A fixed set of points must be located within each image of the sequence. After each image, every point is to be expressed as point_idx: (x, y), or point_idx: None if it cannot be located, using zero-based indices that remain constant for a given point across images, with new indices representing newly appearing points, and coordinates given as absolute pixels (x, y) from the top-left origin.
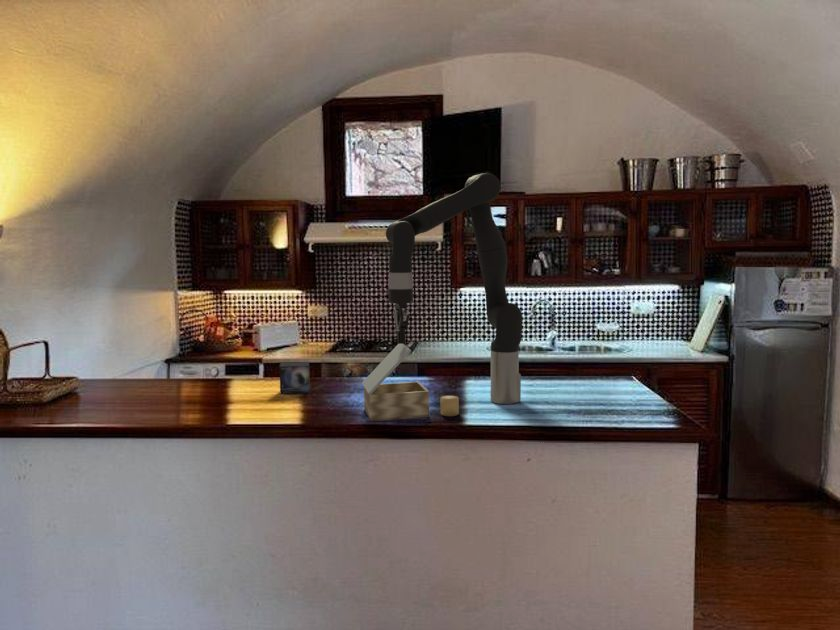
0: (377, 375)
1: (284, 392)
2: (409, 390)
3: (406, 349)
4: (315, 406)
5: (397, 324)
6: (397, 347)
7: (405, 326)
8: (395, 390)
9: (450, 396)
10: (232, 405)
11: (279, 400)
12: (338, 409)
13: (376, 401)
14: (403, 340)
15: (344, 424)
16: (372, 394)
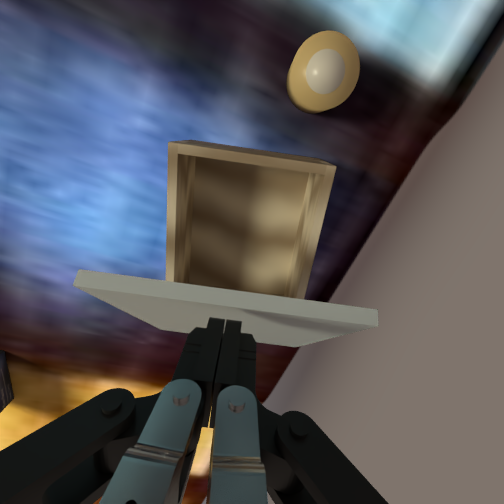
0: None
1: (10, 396)
2: (184, 179)
3: (325, 322)
4: (128, 361)
5: (180, 498)
6: (137, 301)
7: (308, 461)
8: (182, 226)
9: (307, 58)
10: None
11: (63, 405)
12: (166, 330)
13: None
14: (254, 347)
15: None
16: None
